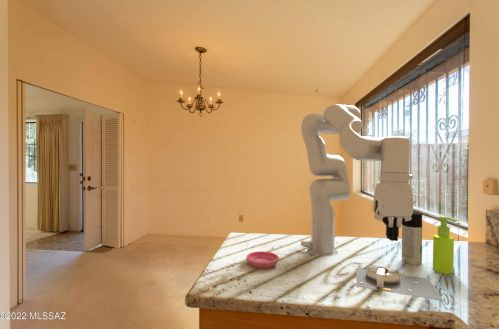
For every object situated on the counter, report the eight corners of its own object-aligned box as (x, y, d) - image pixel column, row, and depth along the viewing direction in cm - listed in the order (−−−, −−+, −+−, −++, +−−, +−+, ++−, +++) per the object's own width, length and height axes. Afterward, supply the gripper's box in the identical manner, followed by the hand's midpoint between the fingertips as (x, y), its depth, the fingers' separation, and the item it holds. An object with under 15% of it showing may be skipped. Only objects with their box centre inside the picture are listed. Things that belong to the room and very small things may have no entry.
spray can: (424, 268, 100) (425, 214, 100) (404, 267, 101) (405, 213, 101) (417, 262, 106) (418, 211, 106) (398, 260, 108) (399, 210, 108)
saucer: (252, 257, 111) (252, 249, 111) (282, 261, 107) (282, 253, 107) (241, 268, 99) (241, 259, 99) (274, 273, 95) (274, 264, 95)
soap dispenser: (450, 279, 91) (452, 220, 90) (429, 272, 97) (430, 216, 97) (460, 276, 93) (461, 218, 93) (438, 269, 100) (439, 214, 99)
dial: (368, 269, 95) (368, 257, 95) (400, 275, 90) (400, 263, 90) (362, 283, 84) (362, 270, 84) (399, 292, 79) (399, 278, 78)
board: (356, 290, 82) (356, 285, 82) (355, 269, 98) (355, 266, 98) (442, 304, 75) (442, 299, 75) (426, 279, 90) (426, 275, 90)
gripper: (411, 177, 85) (408, 236, 85) (363, 177, 84) (361, 235, 85) (427, 179, 77) (425, 243, 78) (375, 179, 77) (373, 243, 77)
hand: (392, 239), depth 81 cm, fingers closed
